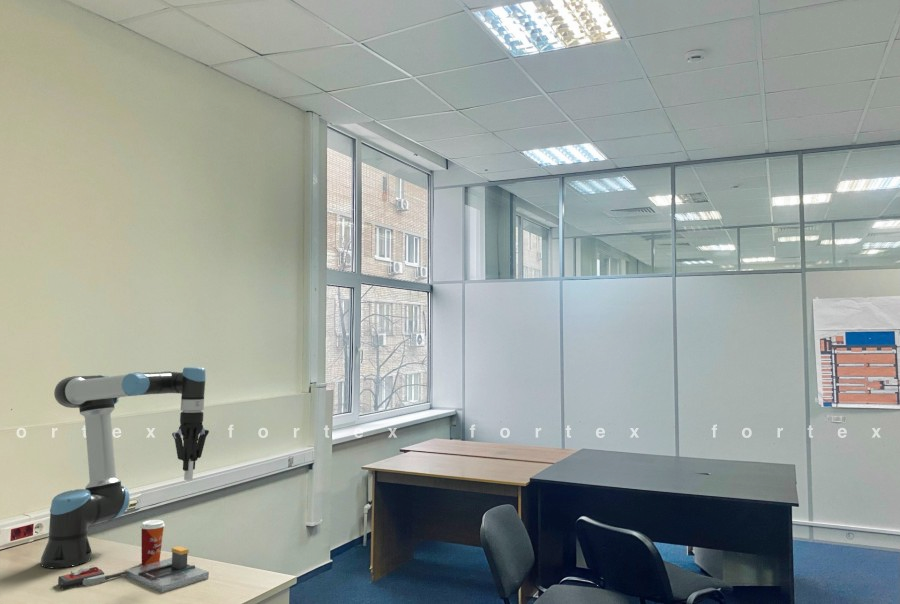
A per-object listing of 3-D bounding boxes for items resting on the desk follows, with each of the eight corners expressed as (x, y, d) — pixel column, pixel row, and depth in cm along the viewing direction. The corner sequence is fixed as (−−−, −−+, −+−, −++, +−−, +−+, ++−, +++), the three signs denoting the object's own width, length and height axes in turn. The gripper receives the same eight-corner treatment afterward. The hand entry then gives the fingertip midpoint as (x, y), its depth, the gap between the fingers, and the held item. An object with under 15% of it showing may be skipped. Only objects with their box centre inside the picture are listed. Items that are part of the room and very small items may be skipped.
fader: (170, 566, 207) (171, 547, 208) (178, 564, 210) (179, 545, 210) (179, 569, 204) (180, 551, 205) (187, 567, 206) (188, 549, 207)
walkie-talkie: (62, 593, 189) (130, 577, 204) (63, 579, 189) (131, 563, 204) (52, 586, 195) (119, 570, 210) (53, 571, 195) (120, 557, 210)
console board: (125, 576, 203) (125, 568, 203) (171, 563, 216) (171, 556, 216) (161, 592, 190) (162, 583, 191) (208, 578, 203) (208, 569, 204)
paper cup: (152, 568, 212) (155, 525, 213) (133, 565, 213) (135, 524, 214) (167, 560, 219) (170, 520, 221) (148, 558, 221) (151, 518, 222)
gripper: (180, 413, 210) (176, 484, 208) (214, 410, 221) (211, 478, 219) (168, 411, 215) (164, 481, 213) (202, 409, 225) (198, 475, 223)
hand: (188, 479), depth 216 cm, fingers closed
